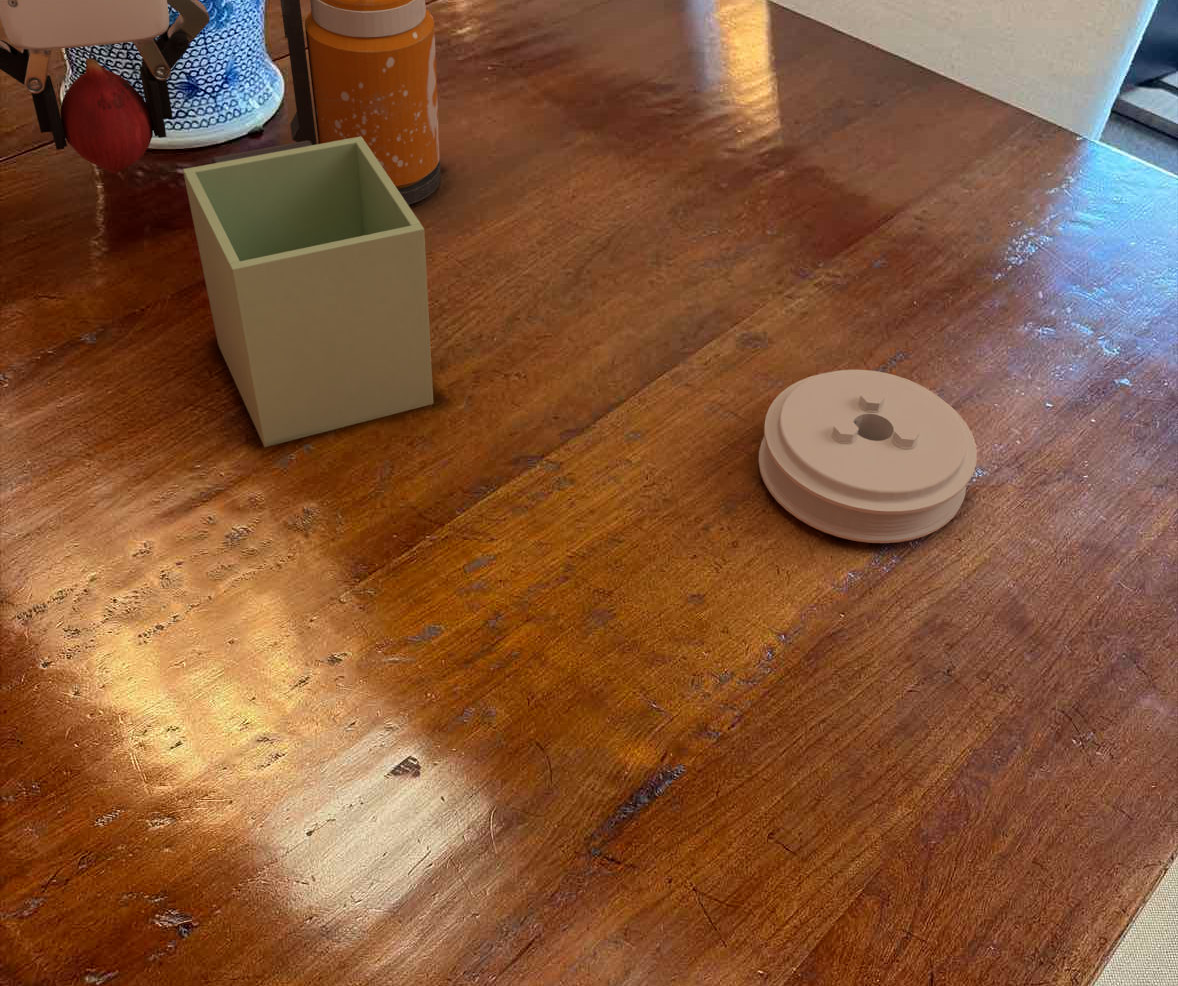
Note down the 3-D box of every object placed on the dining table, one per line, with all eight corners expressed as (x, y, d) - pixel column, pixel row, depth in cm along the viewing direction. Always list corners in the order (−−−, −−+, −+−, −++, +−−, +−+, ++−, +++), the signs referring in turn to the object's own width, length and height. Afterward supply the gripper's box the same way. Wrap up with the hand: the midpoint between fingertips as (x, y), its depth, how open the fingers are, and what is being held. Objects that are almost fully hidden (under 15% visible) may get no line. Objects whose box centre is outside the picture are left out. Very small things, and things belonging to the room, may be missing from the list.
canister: (448, 211, 98) (438, -64, 84) (300, 223, 97) (262, -57, 82) (432, 151, 104) (420, -117, 90) (292, 160, 102) (255, -112, 88)
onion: (169, 154, 93) (151, 44, 87) (148, 196, 89) (127, 84, 83) (86, 146, 93) (63, 36, 87) (62, 189, 89) (35, 76, 83)
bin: (424, 228, 74) (340, 104, 83) (231, 269, 70) (166, 135, 79) (434, 406, 83) (358, 278, 92) (264, 450, 80) (203, 312, 89)
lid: (718, 494, 79) (729, 431, 75) (814, 389, 86) (828, 327, 83) (908, 586, 75) (929, 524, 71) (993, 467, 82) (1016, 405, 78)
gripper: (189, -184, 81) (224, 94, 94) (-115, -172, 75) (-32, 121, 89) (214, -140, 76) (247, 145, 89) (-107, -124, 71) (-21, 178, 84)
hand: (108, 131), depth 89 cm, fingers closed on onion, 5 cm apart
